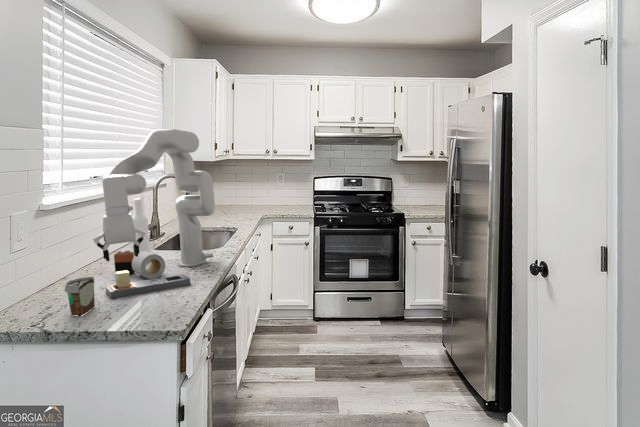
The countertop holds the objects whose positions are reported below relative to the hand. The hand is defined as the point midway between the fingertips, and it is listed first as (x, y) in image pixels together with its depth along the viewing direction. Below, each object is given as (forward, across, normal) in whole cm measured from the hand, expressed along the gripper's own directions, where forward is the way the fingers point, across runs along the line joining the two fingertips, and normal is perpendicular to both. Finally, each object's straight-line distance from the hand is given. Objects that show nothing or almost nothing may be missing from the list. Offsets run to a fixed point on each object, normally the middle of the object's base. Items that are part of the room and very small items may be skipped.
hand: (122, 258), depth 165 cm
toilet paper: (+14, -13, -19) cm, 27 cm away
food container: (+12, +17, +14) cm, 25 cm away
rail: (+13, -8, +1) cm, 15 cm away
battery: (+14, -6, -30) cm, 34 cm away
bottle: (+15, -18, -52) cm, 57 cm away
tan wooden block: (+13, +1, +1) cm, 13 cm away
